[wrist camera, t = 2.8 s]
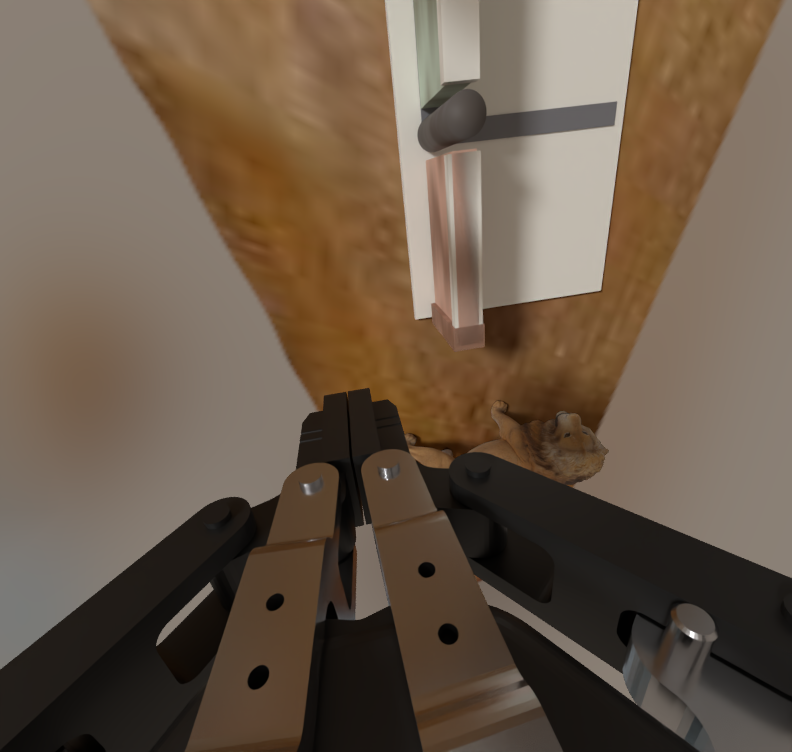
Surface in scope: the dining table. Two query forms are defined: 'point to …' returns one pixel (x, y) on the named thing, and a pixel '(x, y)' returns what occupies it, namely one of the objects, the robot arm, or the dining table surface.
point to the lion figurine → (533, 447)
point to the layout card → (526, 143)
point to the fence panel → (457, 247)
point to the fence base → (448, 71)
